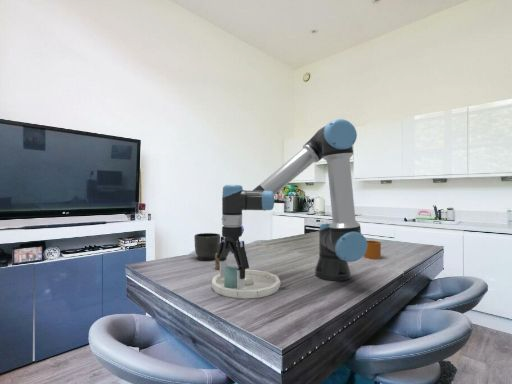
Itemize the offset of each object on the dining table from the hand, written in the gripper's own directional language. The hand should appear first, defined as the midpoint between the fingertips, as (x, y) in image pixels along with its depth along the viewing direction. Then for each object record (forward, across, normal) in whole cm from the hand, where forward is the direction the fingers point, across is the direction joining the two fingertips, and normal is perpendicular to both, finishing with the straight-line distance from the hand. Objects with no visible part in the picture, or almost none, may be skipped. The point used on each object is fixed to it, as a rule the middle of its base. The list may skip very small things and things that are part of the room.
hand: (231, 282), depth 104 cm
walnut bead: (+3, -27, +9) cm, 29 cm away
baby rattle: (+3, -52, +33) cm, 62 cm away
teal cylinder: (+2, 0, 0) cm, 2 cm away
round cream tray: (+2, 0, +6) cm, 7 cm away
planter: (+3, -48, +12) cm, 50 cm away
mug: (+3, -1, +94) cm, 94 cm away
